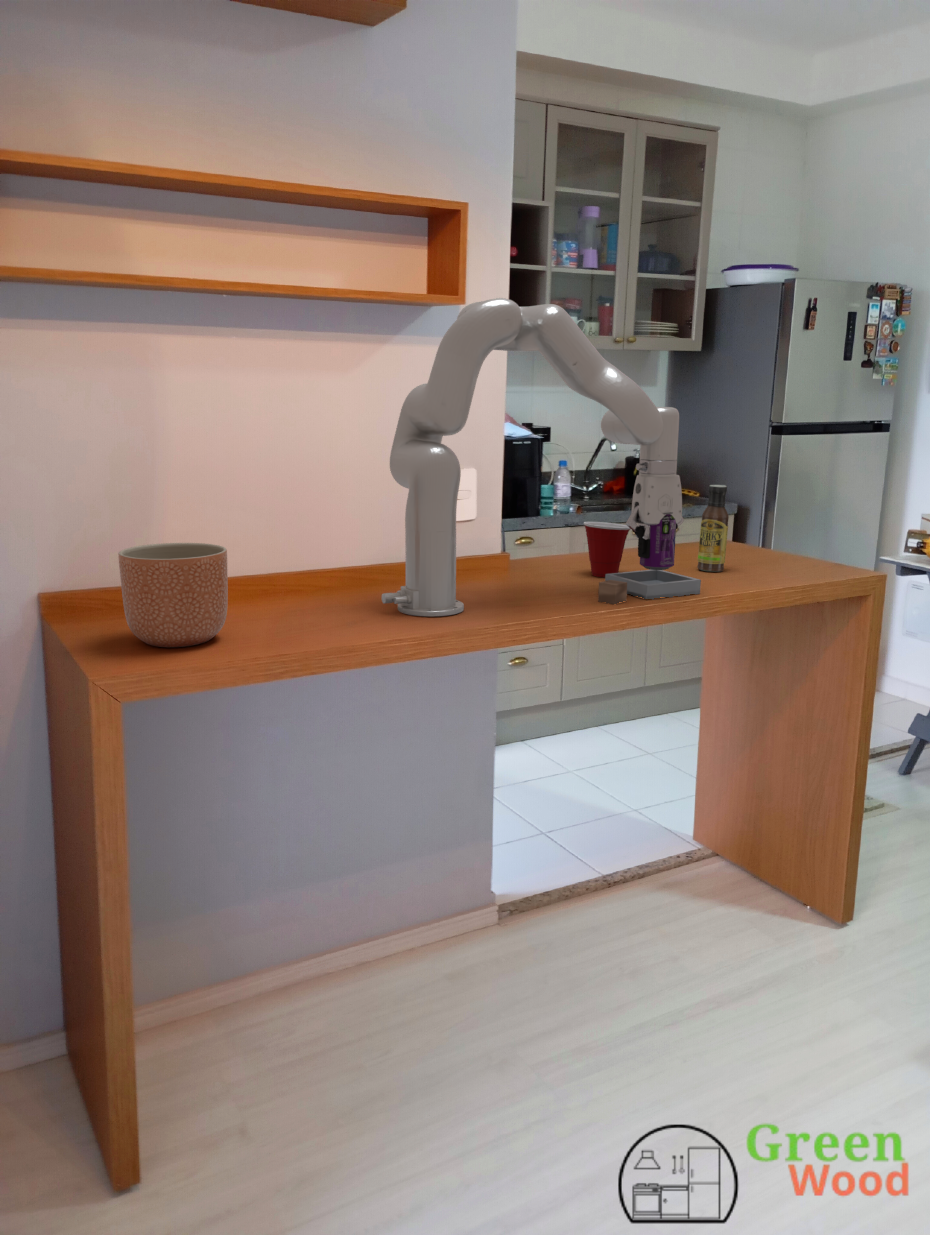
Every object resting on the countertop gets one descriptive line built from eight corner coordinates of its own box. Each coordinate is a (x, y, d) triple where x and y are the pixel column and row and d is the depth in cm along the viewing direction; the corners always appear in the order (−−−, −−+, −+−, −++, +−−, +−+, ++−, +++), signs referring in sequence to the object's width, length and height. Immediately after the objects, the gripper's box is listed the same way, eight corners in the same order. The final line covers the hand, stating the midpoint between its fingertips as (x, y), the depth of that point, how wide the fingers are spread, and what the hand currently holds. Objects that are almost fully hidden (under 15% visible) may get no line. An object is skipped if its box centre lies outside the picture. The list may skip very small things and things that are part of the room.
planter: (244, 645, 165) (240, 554, 161) (137, 659, 156) (131, 562, 153) (214, 624, 179) (209, 539, 175) (115, 635, 171) (108, 546, 167)
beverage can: (673, 571, 207) (676, 513, 204) (638, 570, 208) (641, 512, 206) (674, 565, 214) (676, 509, 211) (640, 564, 215) (642, 508, 212)
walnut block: (614, 605, 198) (615, 585, 197) (598, 602, 201) (598, 582, 200) (626, 602, 201) (627, 582, 200) (609, 599, 204) (610, 579, 203)
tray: (646, 600, 202) (647, 585, 202) (604, 587, 214) (605, 574, 214) (700, 593, 209) (700, 579, 208) (656, 582, 221) (657, 568, 220)
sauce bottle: (693, 571, 235) (698, 485, 231) (702, 567, 240) (708, 483, 236) (719, 574, 232) (725, 487, 227) (729, 570, 237) (734, 485, 232)
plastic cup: (638, 578, 226) (641, 524, 223) (596, 581, 222) (598, 527, 219) (614, 569, 236) (616, 518, 233) (573, 572, 232) (575, 520, 229)
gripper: (636, 471, 199) (632, 562, 203) (702, 468, 207) (696, 556, 211) (613, 468, 205) (610, 557, 209) (677, 465, 213) (673, 551, 217)
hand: (653, 555), depth 210 cm, fingers closed on beverage can, 4 cm apart
